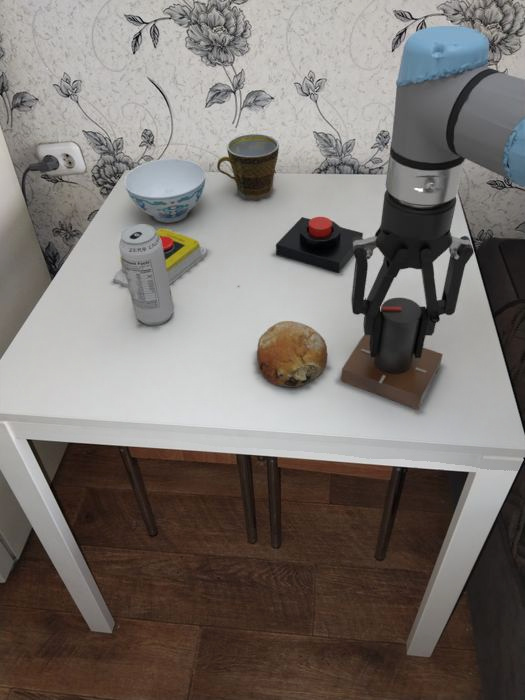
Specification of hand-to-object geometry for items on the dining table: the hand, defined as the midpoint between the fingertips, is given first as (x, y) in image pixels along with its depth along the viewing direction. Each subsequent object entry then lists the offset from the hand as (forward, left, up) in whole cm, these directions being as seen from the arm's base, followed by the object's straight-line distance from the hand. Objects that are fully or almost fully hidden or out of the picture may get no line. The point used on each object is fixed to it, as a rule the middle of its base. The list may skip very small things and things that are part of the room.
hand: (394, 350), depth 78 cm
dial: (0, 0, -2) cm, 2 cm away
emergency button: (+44, -6, -5) cm, 45 cm away
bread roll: (+13, +5, -5) cm, 15 cm away
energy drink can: (+37, +5, -5) cm, 38 cm away
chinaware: (+53, -21, -5) cm, 57 cm away
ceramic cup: (+43, -34, -5) cm, 55 cm away
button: (+22, -23, -1) cm, 32 cm away
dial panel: (0, 0, -5) cm, 5 cm away
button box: (+22, -23, -5) cm, 32 cm away
